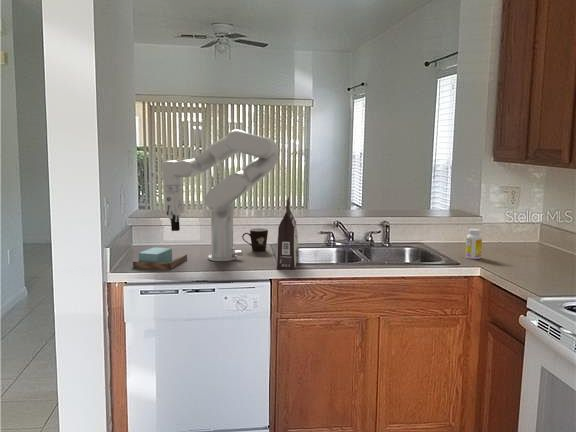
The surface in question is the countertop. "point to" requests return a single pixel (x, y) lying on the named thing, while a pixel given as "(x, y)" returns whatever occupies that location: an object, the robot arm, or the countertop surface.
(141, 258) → the carton
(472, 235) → the supplement bottle
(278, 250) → the protein powder
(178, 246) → the countertop surface
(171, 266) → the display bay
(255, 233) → the coffee mug
